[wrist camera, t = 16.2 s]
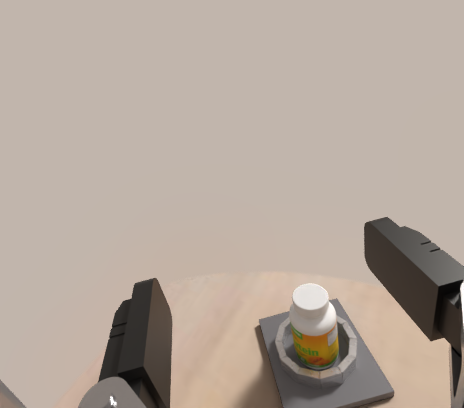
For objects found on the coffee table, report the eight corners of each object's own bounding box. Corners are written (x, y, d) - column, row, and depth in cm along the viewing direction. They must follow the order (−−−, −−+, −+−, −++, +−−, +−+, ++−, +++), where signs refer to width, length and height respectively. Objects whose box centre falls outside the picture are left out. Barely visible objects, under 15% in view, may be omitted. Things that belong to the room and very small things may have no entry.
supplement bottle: (287, 357, 40) (276, 302, 35) (307, 326, 43) (300, 273, 38) (327, 379, 36) (320, 322, 32) (346, 344, 39) (343, 288, 35)
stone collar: (291, 397, 35) (289, 387, 34) (270, 329, 44) (268, 319, 43) (372, 375, 36) (372, 364, 35) (335, 311, 44) (335, 301, 43)
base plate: (288, 426, 34) (287, 421, 33) (259, 324, 46) (258, 319, 46) (393, 396, 34) (394, 390, 34) (337, 303, 46) (337, 298, 46)
